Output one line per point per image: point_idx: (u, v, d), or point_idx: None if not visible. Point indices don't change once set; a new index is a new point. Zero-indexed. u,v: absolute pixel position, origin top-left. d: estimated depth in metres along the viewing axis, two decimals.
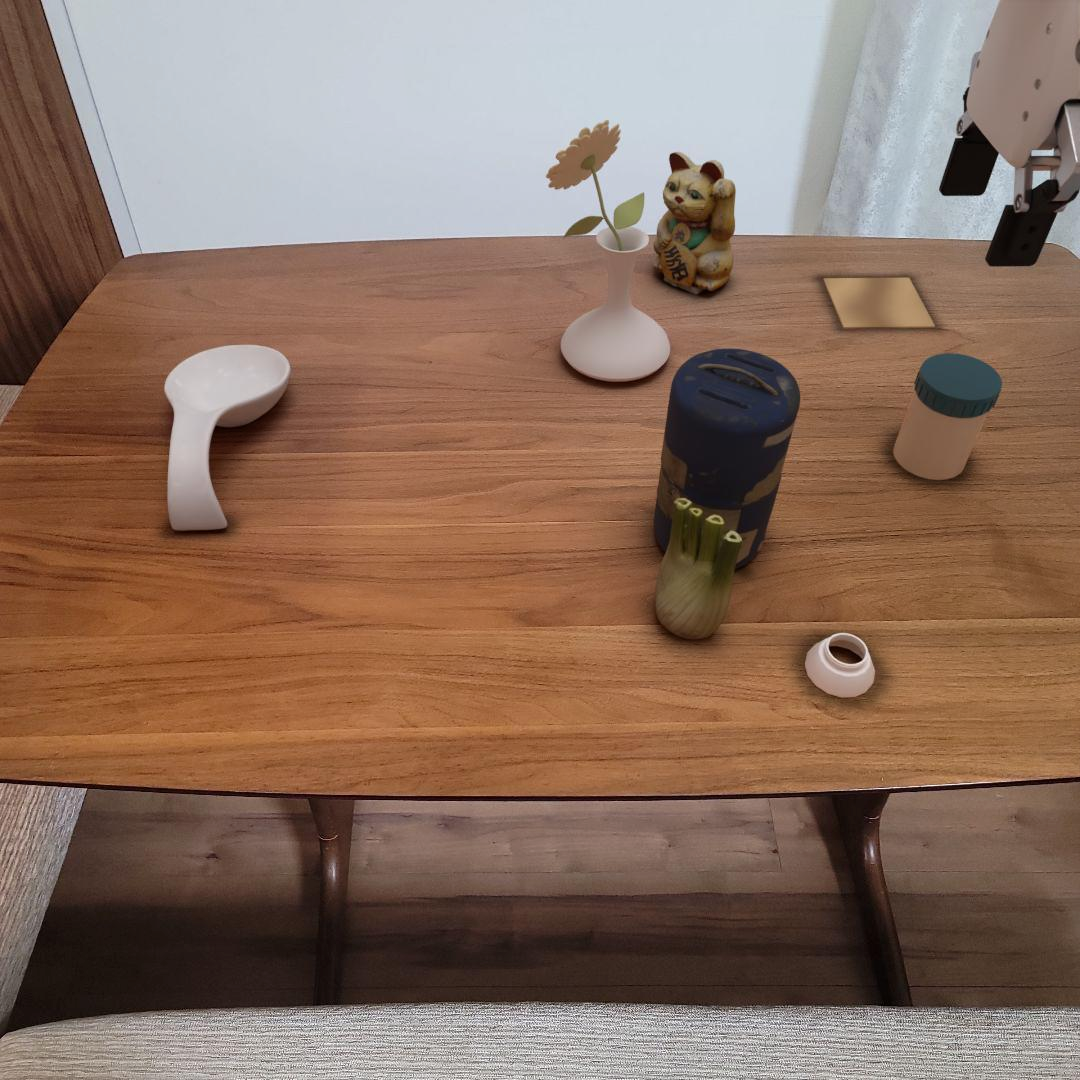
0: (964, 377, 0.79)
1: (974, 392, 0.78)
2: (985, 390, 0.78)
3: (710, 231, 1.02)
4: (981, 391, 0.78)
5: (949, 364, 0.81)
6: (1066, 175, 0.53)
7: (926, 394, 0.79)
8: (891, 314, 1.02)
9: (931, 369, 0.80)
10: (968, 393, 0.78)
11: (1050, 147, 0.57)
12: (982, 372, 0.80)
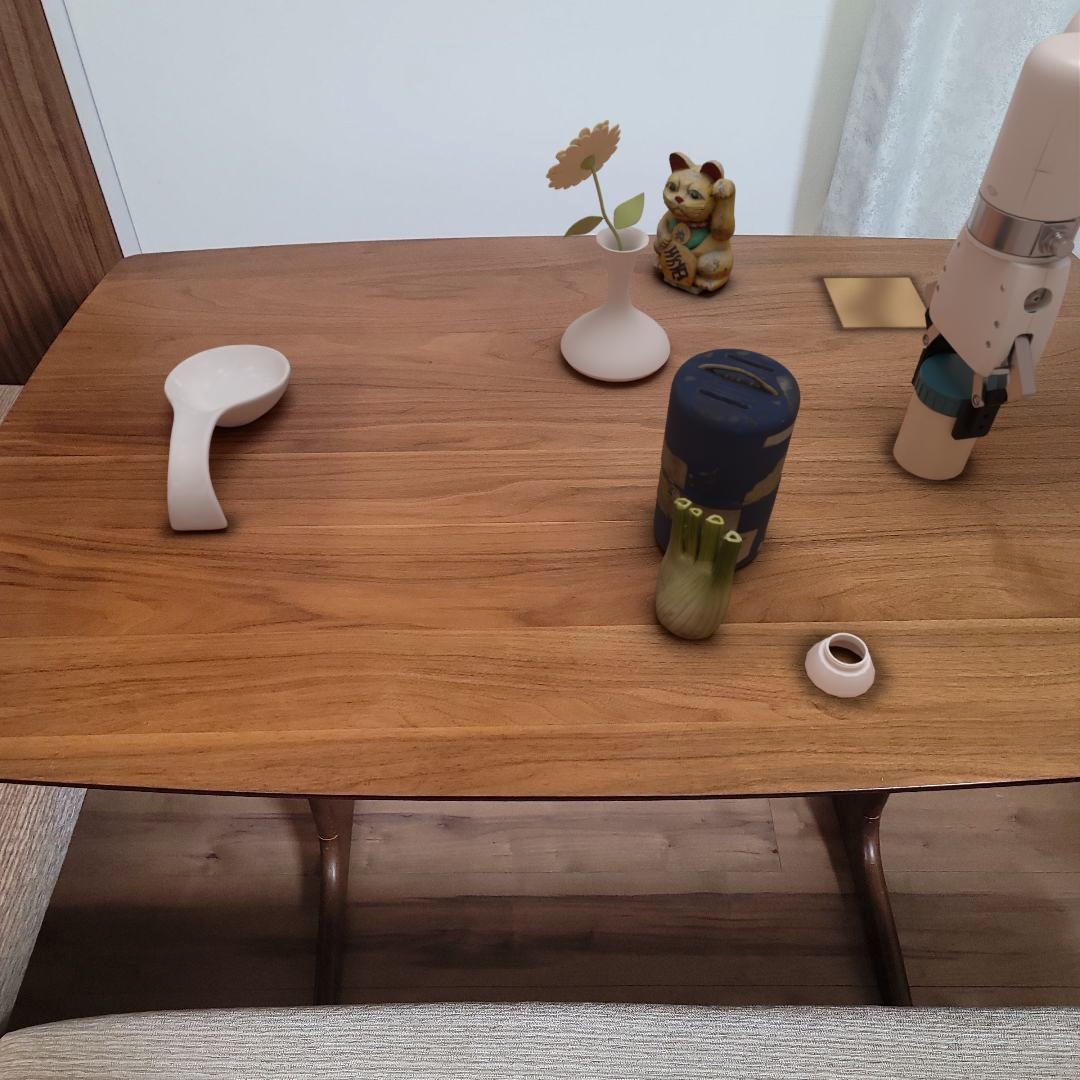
0: (964, 377, 0.79)
1: None
2: None
3: (710, 231, 1.02)
4: None
5: (949, 364, 0.81)
6: (1014, 395, 0.72)
7: (926, 395, 0.79)
8: (891, 314, 1.02)
9: (931, 369, 0.80)
10: (968, 393, 0.78)
11: None
12: None
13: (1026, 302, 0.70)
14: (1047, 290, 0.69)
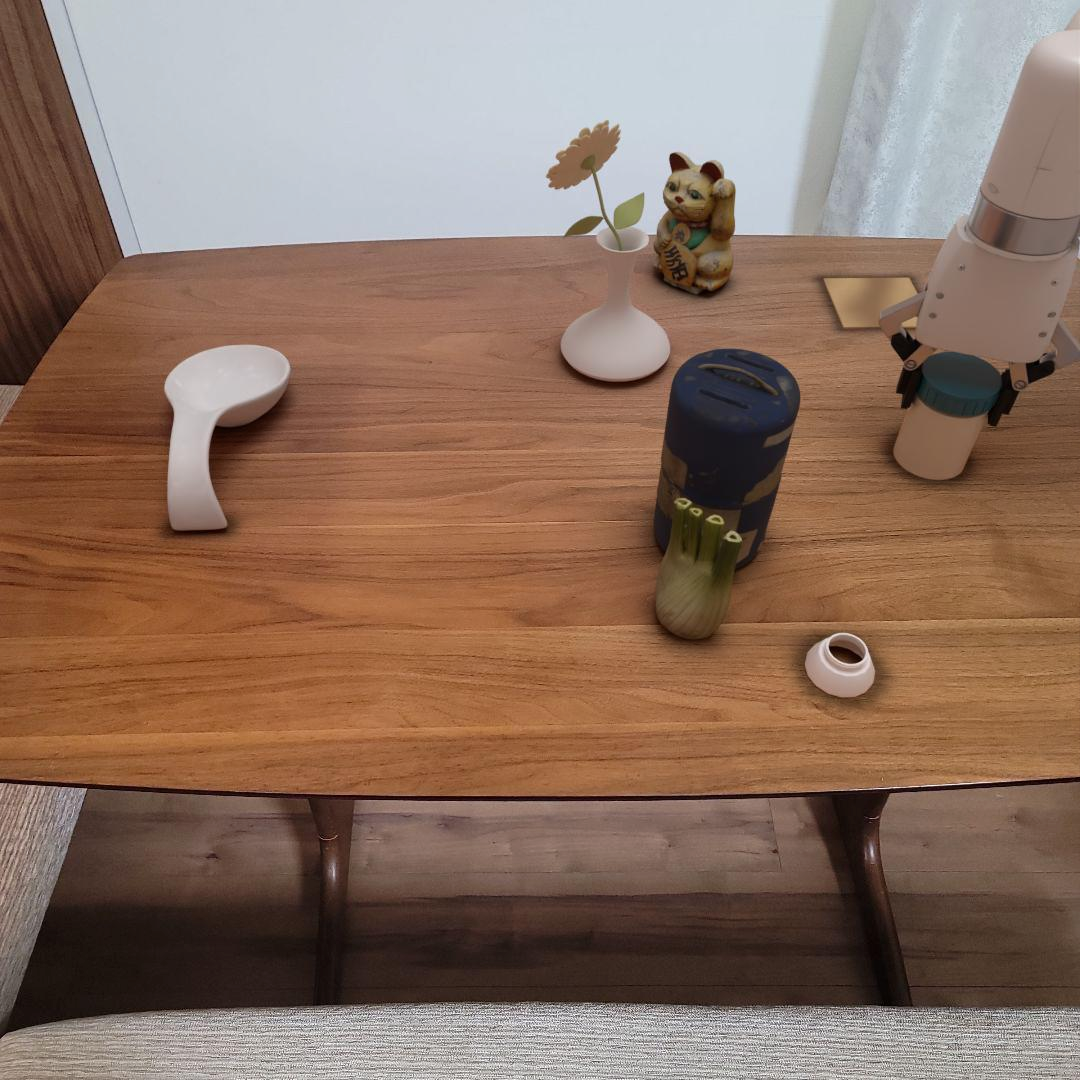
0: (965, 373, 0.79)
1: (990, 380, 0.79)
2: (990, 372, 0.80)
3: (710, 231, 1.02)
4: (990, 375, 0.79)
5: (941, 371, 0.80)
6: (1070, 360, 0.75)
7: (965, 407, 0.78)
8: None
9: (944, 385, 0.78)
10: (991, 383, 0.79)
11: None
12: (961, 360, 0.81)
13: None
14: None
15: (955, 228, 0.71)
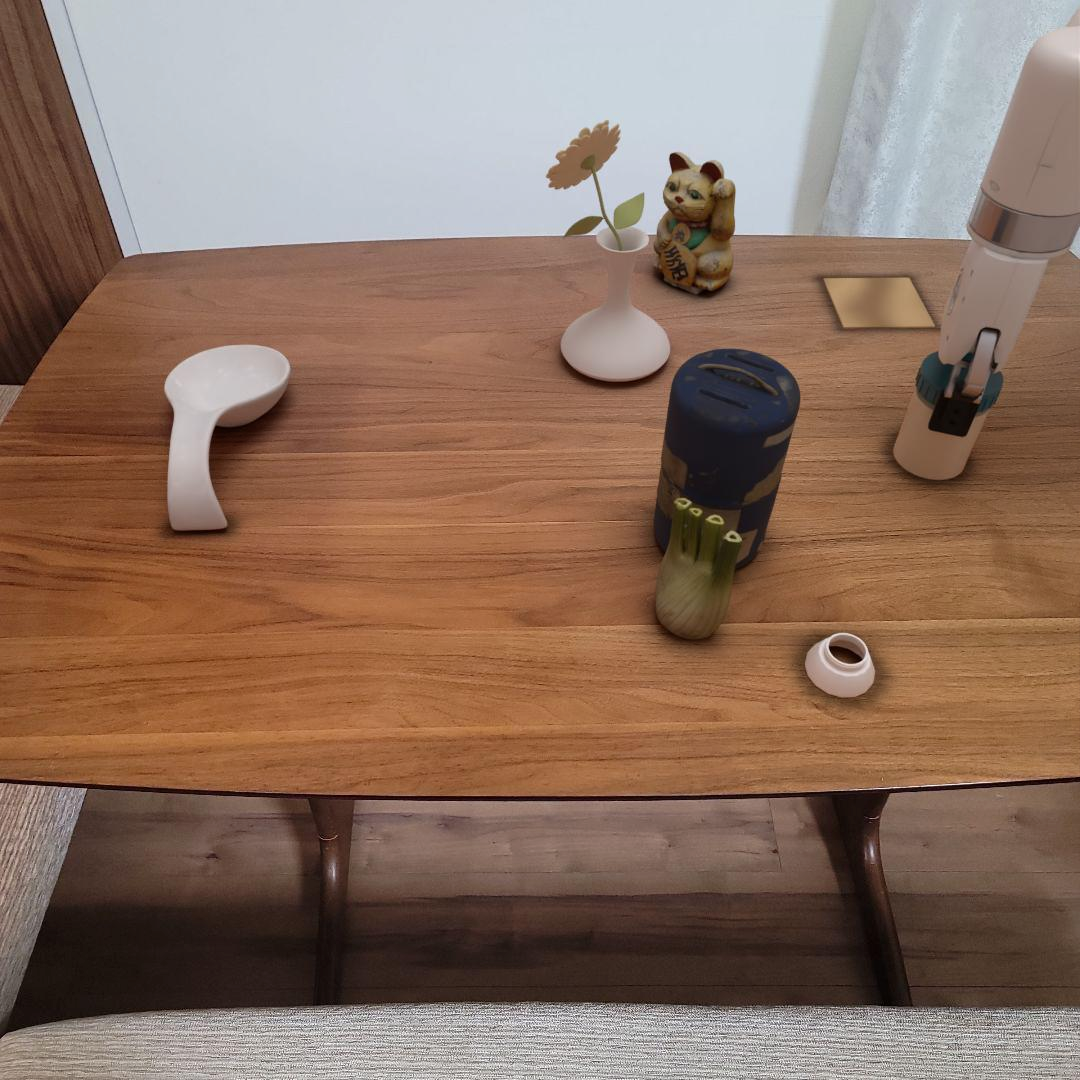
0: None
1: (964, 357, 0.81)
2: None
3: (710, 231, 1.02)
4: None
5: None
6: None
7: None
8: (891, 314, 1.02)
9: (987, 386, 0.78)
10: (970, 358, 0.81)
11: None
12: (937, 367, 0.80)
13: None
14: None
15: (1013, 264, 0.67)
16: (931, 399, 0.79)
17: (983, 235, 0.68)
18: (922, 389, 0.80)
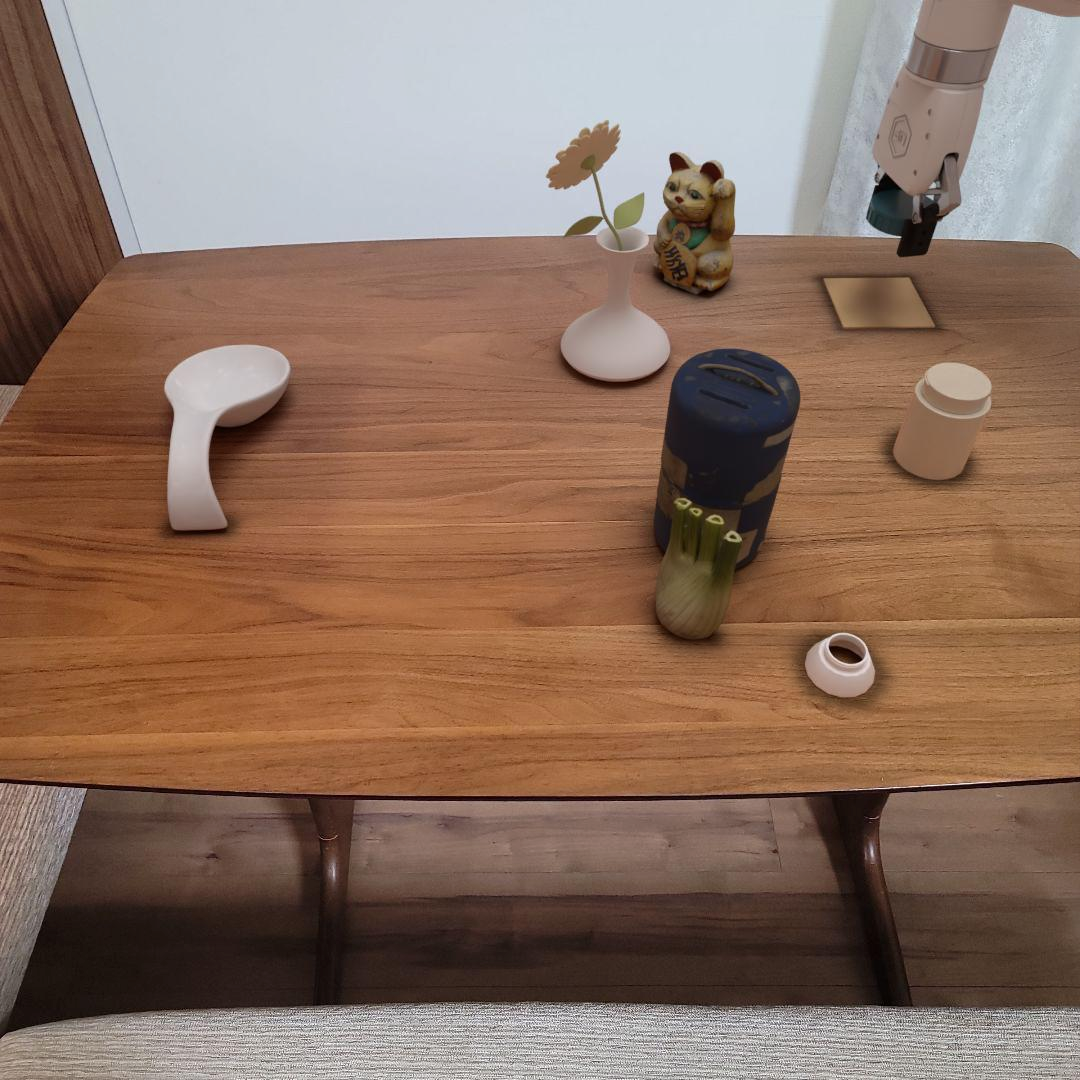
0: (902, 203, 0.96)
1: (894, 193, 0.97)
2: (885, 194, 0.97)
3: (710, 231, 1.02)
4: (889, 194, 0.97)
5: None
6: None
7: None
8: (891, 314, 1.02)
9: None
10: (899, 193, 0.97)
11: None
12: (886, 206, 0.95)
13: None
14: None
15: (966, 95, 0.84)
16: (894, 231, 0.95)
17: (934, 78, 0.84)
18: (883, 226, 0.95)
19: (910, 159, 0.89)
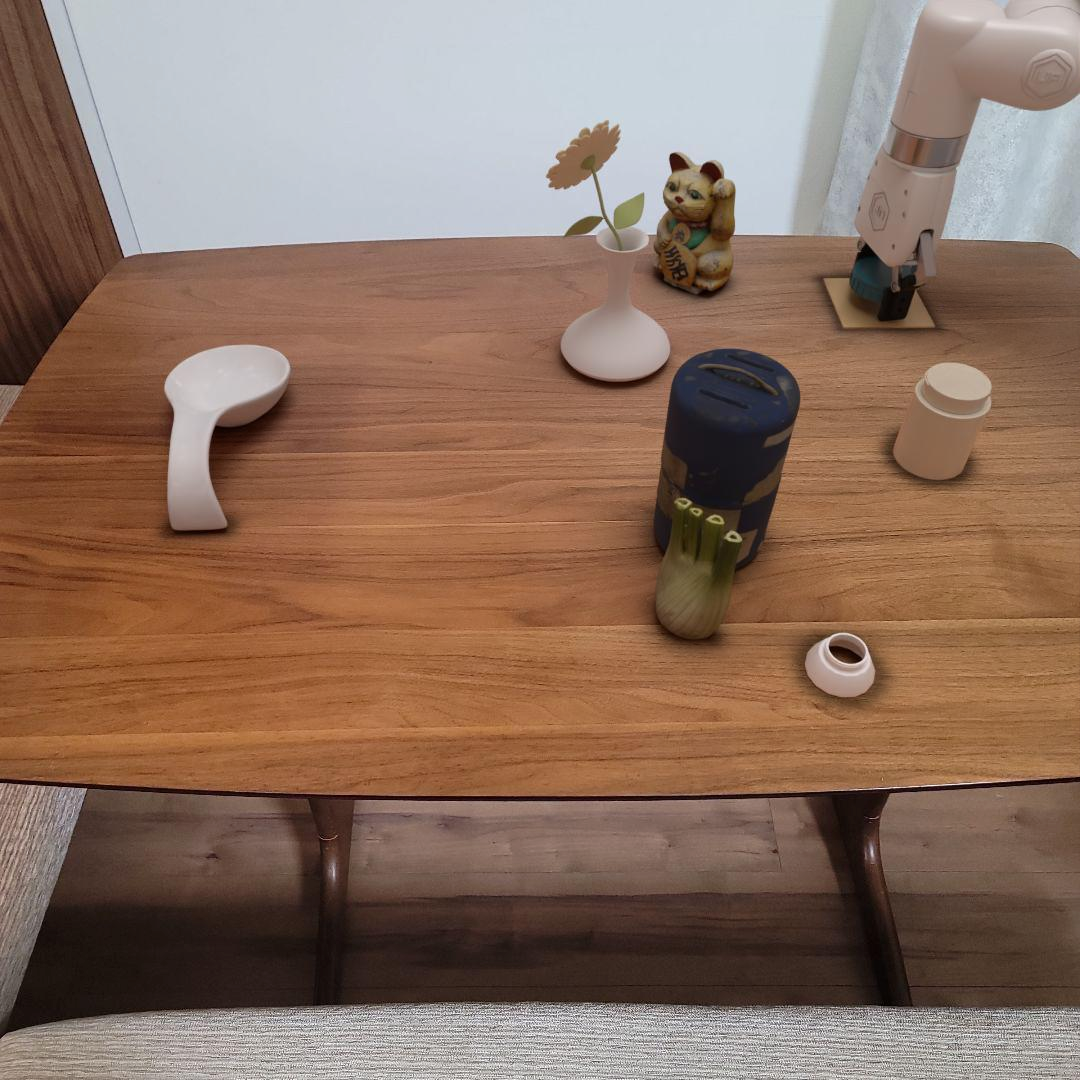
0: (882, 270, 1.01)
1: (876, 260, 1.03)
2: (867, 261, 1.03)
3: (710, 231, 1.02)
4: (870, 261, 1.03)
5: None
6: None
7: None
8: None
9: None
10: (880, 259, 1.03)
11: None
12: (867, 273, 1.01)
13: None
14: None
15: (939, 178, 0.89)
16: (875, 298, 1.00)
17: (909, 162, 0.89)
18: (865, 293, 1.01)
19: (888, 234, 0.95)
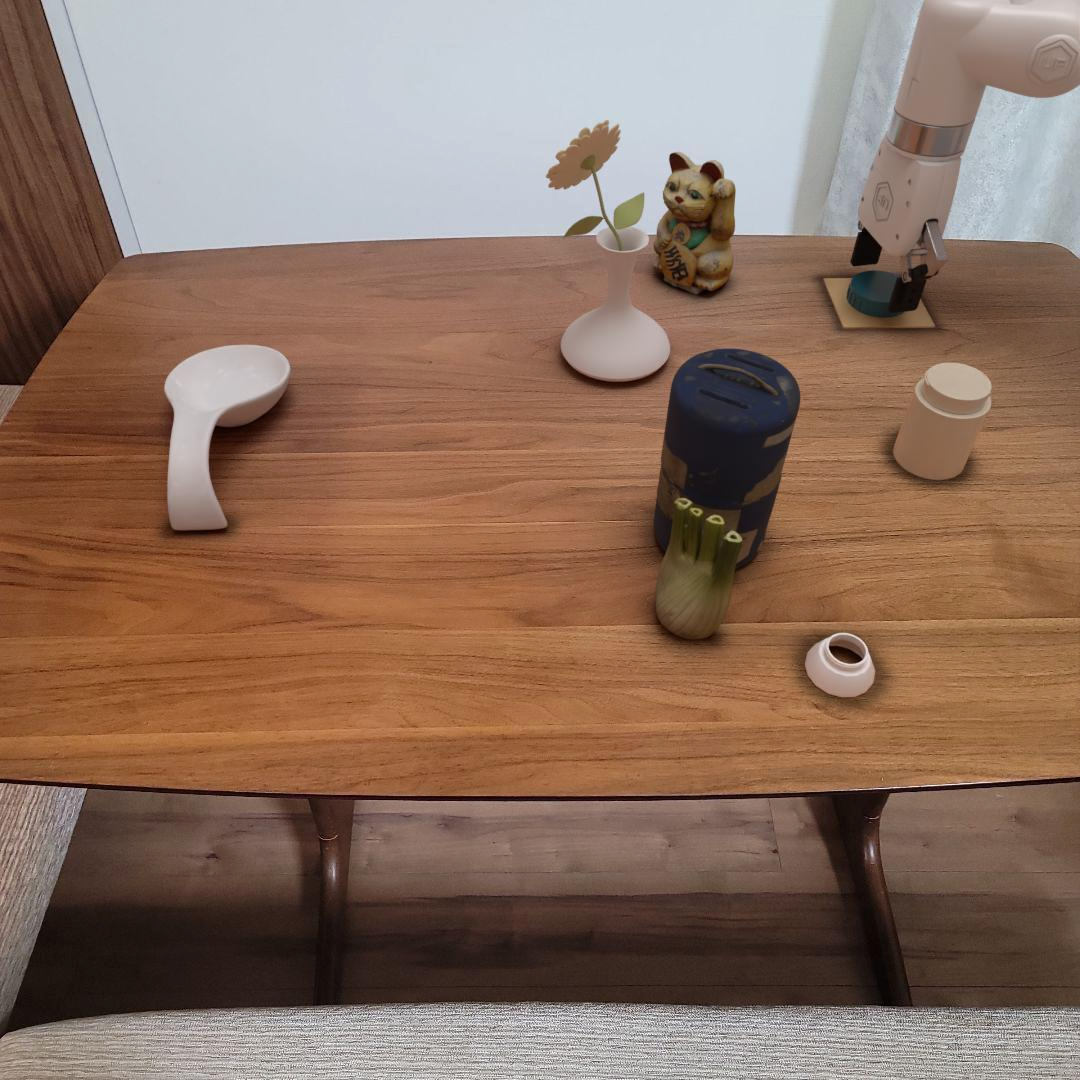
0: (879, 284, 1.03)
1: (872, 275, 1.04)
2: (864, 276, 1.04)
3: (710, 231, 1.02)
4: (867, 275, 1.04)
5: (890, 294, 1.02)
6: None
7: None
8: None
9: None
10: (877, 274, 1.04)
11: None
12: (864, 288, 1.02)
13: None
14: None
15: (943, 166, 0.88)
16: (872, 312, 1.02)
17: (913, 151, 0.89)
18: (862, 307, 1.02)
19: (892, 224, 0.94)
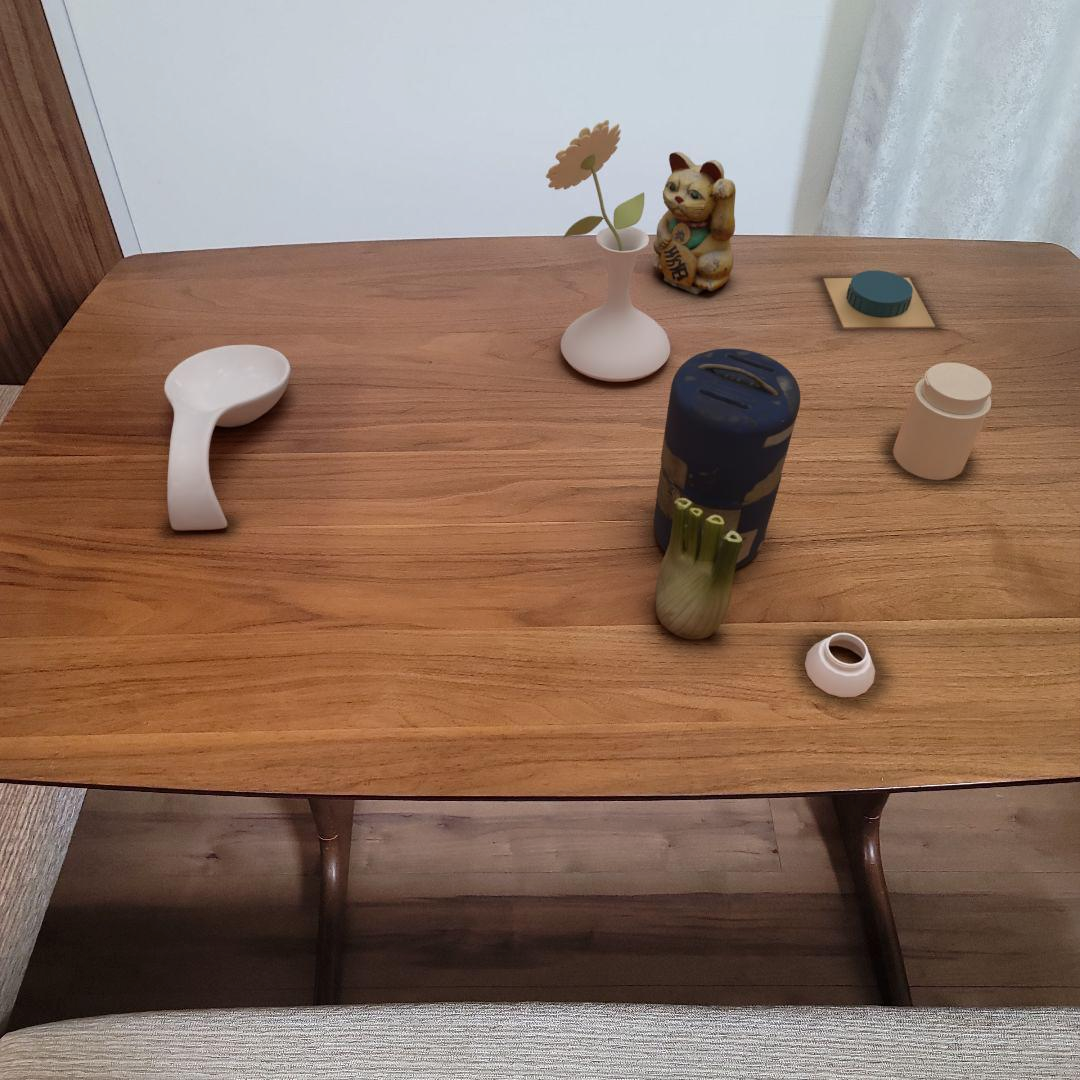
0: (879, 284, 1.03)
1: (872, 275, 1.04)
2: (864, 276, 1.04)
3: (710, 231, 1.02)
4: (867, 275, 1.04)
5: (890, 294, 1.02)
6: None
7: None
8: None
9: (904, 290, 1.02)
10: (877, 274, 1.04)
11: None
12: (864, 288, 1.02)
13: None
14: None
15: None
16: (872, 312, 1.02)
17: None
18: (862, 307, 1.02)
19: None
